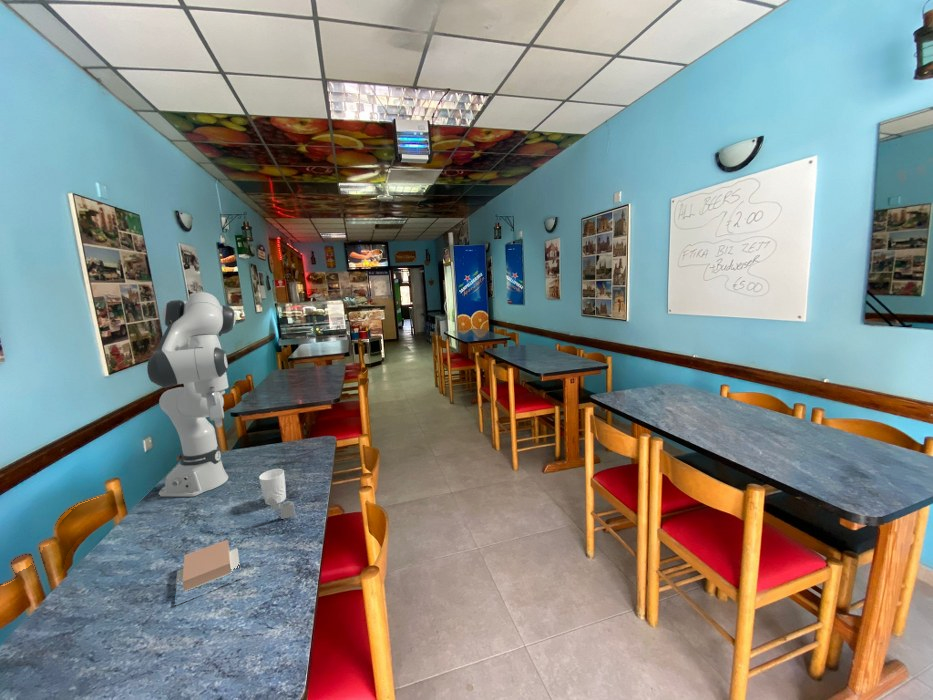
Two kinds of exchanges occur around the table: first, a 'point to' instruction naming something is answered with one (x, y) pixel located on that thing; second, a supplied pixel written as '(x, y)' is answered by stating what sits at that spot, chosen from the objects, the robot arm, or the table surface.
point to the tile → (206, 565)
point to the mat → (233, 559)
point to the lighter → (283, 508)
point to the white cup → (273, 485)
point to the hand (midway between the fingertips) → (219, 426)
